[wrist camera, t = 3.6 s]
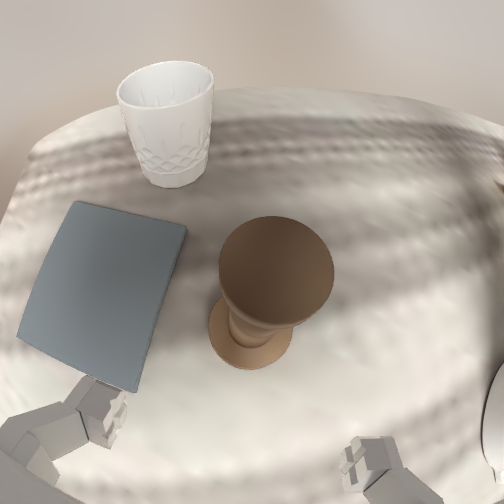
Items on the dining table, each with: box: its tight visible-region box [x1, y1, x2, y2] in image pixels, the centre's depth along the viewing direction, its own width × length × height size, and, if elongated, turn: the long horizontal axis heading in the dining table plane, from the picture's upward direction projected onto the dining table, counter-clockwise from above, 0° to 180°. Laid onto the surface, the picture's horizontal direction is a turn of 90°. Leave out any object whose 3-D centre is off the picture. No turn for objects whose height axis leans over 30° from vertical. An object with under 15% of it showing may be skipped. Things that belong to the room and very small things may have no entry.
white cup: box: [116, 61, 214, 188], centre depth 24 cm, size 8×8×10 cm
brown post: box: [208, 216, 334, 370], centre depth 16 cm, size 6×6×12 cm
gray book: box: [16, 201, 187, 393], centre depth 21 cm, size 12×14×1 cm
